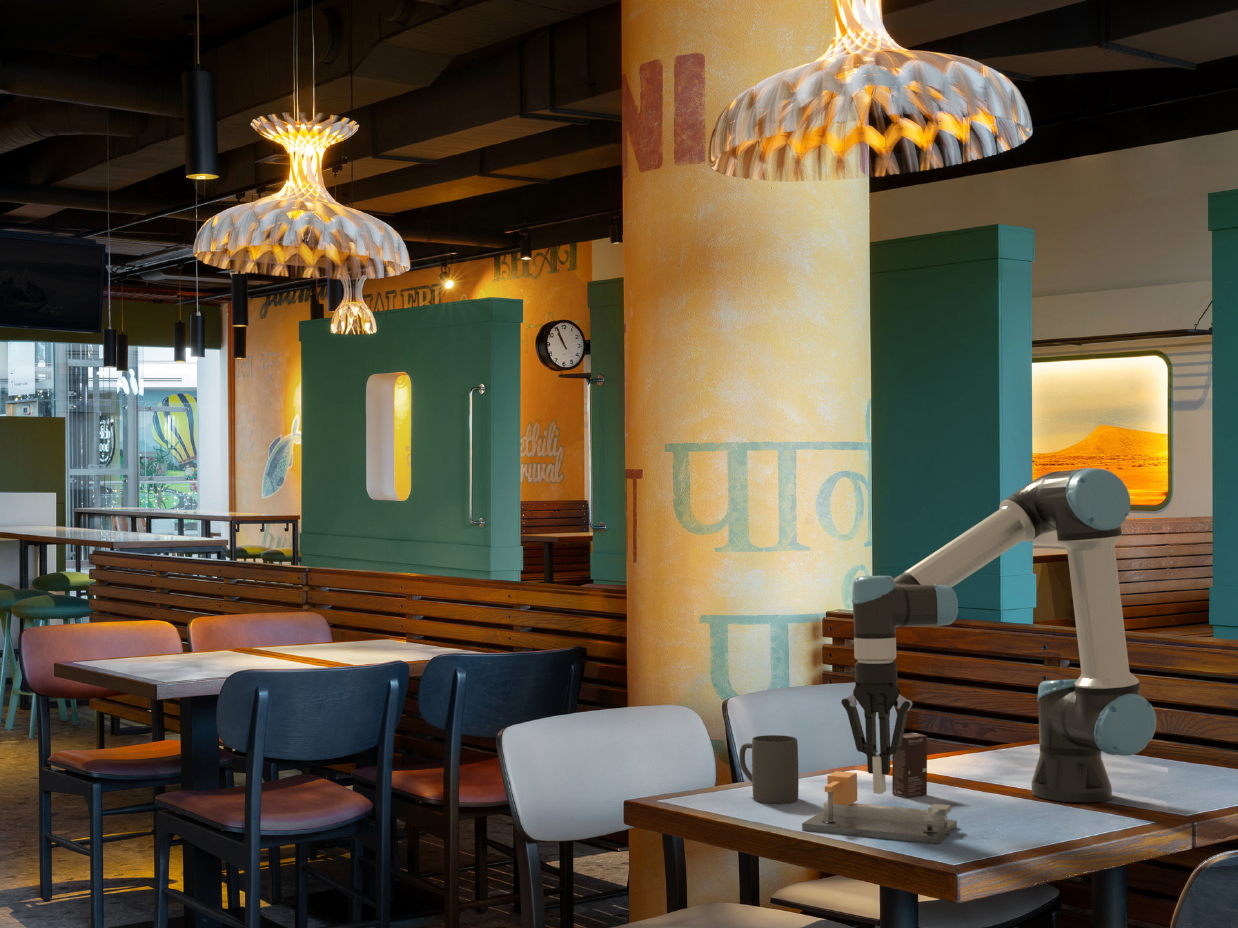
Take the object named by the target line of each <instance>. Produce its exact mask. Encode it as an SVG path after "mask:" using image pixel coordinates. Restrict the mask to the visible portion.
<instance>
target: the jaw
mask: <svg viewBox="0 0 1238 928" xmlns="http://www.w3.org/2000/svg"><path fill="white" fill-rule="evenodd" d="M826 779H827V782H826V783H827V784H826V785H824V793H827V801H828V820H833V804H838V805H851V804H852V803H856V802H858V772H853V771H852V772H849V771H840V770H839V771H837V770H835V771H834V772H832V773H830V774H828V775H827V777H826Z"/></svg>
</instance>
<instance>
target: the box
mask: <svg viewBox="0 0 1238 928" xmlns="http://www.w3.org/2000/svg"><path fill="white" fill-rule="evenodd" d="M891 762H892V768H891V769H892V771H891V772H892V773H891V775H892V776H891V777H892V780H891V781H892V782H891V783H892V788H891V790H892V791H891V792H892V795H893V796H895V797H900V798H910V797H918V796H922V795H923V796H926V795H927V794H928V735H925V734H923V733H916V732H909V733H903V738H902V743H901V748H900V751H899V752H897V753H895V754H892V761H891Z"/></svg>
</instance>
